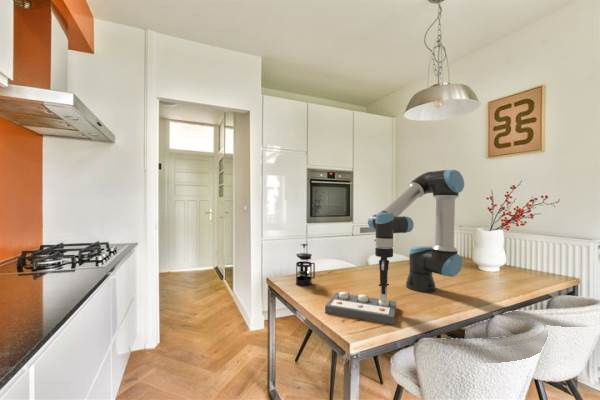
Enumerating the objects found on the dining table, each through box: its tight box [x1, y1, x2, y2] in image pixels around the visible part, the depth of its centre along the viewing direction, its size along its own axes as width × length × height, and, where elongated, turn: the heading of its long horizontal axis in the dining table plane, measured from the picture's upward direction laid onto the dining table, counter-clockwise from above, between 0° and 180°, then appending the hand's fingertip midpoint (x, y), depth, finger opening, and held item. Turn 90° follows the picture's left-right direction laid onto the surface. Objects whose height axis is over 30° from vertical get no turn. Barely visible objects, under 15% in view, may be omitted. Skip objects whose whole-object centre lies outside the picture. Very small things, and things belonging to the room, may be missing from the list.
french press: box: [295, 243, 316, 287], centre depth 157 cm, size 12×9×23 cm
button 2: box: [379, 299, 389, 306], centre depth 120 cm, size 4×4×3 cm
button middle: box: [357, 293, 369, 303], centre depth 123 cm, size 4×4×3 cm
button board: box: [324, 292, 397, 325], centre depth 120 cm, size 28×18×4 cm, turn 67°
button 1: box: [338, 291, 350, 300], centre depth 127 cm, size 4×4×3 cm
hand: (383, 300), depth 120 cm, fingers closed
